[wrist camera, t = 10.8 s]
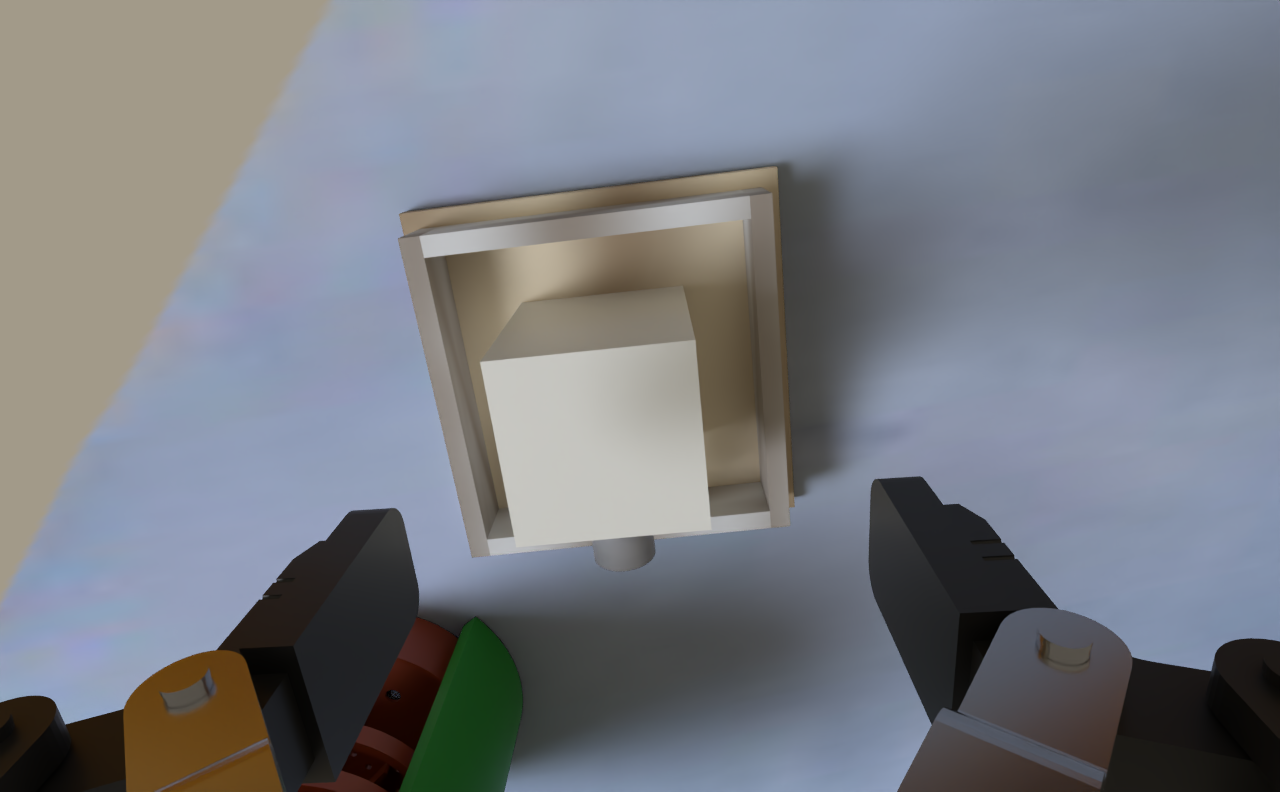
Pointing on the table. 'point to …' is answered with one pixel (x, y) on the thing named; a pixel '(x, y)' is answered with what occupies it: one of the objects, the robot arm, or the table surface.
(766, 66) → the table surface
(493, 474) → the mount pocket
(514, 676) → the green cutaway cylinder
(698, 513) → the cream cube on peg
